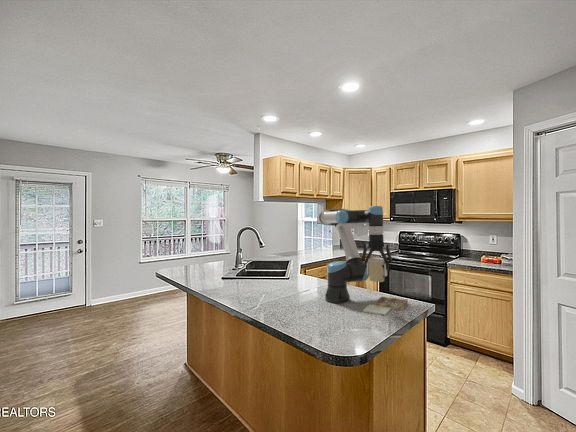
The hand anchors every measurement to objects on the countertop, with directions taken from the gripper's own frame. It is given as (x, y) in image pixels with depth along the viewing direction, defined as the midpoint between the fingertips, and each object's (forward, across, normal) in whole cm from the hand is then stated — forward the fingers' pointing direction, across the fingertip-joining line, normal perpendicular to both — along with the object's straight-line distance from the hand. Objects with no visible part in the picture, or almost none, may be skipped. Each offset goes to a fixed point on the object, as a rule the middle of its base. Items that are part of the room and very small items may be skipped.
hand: (376, 274), depth 159 cm
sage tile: (+19, 0, -1) cm, 19 cm away
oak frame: (+19, +4, +13) cm, 24 cm away
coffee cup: (+3, 0, 0) cm, 3 cm away
